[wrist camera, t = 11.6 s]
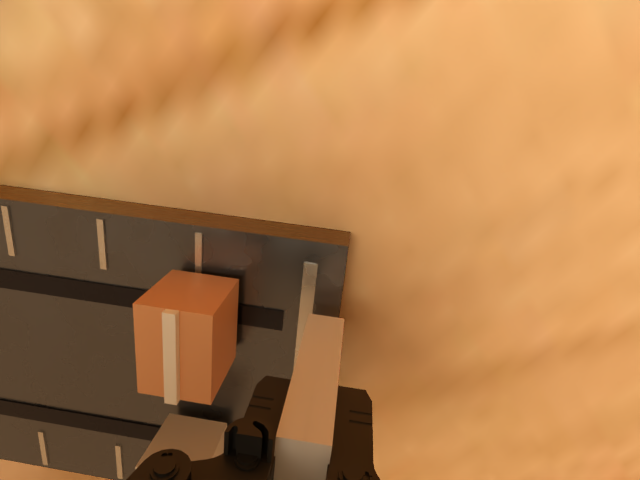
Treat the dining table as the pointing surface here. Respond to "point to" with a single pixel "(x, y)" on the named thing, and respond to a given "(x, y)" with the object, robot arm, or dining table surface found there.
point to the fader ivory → (188, 437)
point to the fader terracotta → (185, 336)
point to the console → (118, 323)
